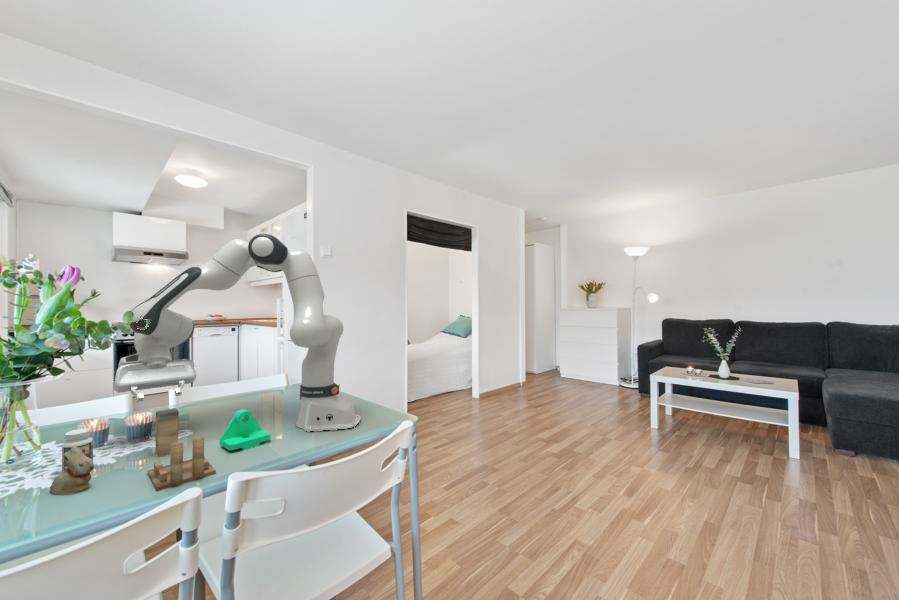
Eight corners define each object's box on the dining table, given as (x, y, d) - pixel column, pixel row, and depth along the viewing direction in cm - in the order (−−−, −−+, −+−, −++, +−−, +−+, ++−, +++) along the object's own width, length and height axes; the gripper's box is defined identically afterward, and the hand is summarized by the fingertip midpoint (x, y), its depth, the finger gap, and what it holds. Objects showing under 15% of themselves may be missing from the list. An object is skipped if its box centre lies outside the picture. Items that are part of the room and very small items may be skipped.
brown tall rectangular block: (155, 452, 106) (156, 411, 106) (174, 448, 109) (175, 407, 109) (158, 457, 103) (159, 414, 103) (178, 452, 106) (178, 411, 106)
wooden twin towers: (147, 473, 93) (148, 435, 93) (202, 459, 102) (203, 424, 102) (157, 492, 85) (157, 450, 85) (216, 474, 93) (217, 436, 93)
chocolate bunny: (64, 499, 81) (65, 454, 81) (46, 491, 84) (46, 448, 84) (96, 487, 86) (96, 444, 86) (77, 480, 89) (78, 439, 89)
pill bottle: (98, 466, 97) (99, 428, 97) (71, 476, 92) (71, 436, 92) (83, 463, 99) (84, 426, 99) (55, 473, 93) (56, 434, 93)
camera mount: (229, 454, 106) (230, 419, 106) (219, 447, 110) (219, 413, 110) (271, 442, 115) (271, 409, 115) (260, 436, 120) (260, 405, 120)
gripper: (191, 363, 128) (197, 397, 122) (111, 371, 113) (114, 409, 107) (194, 352, 125) (201, 385, 119) (113, 358, 110) (116, 397, 104)
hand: (160, 397), depth 113 cm, fingers open, 8 cm apart
